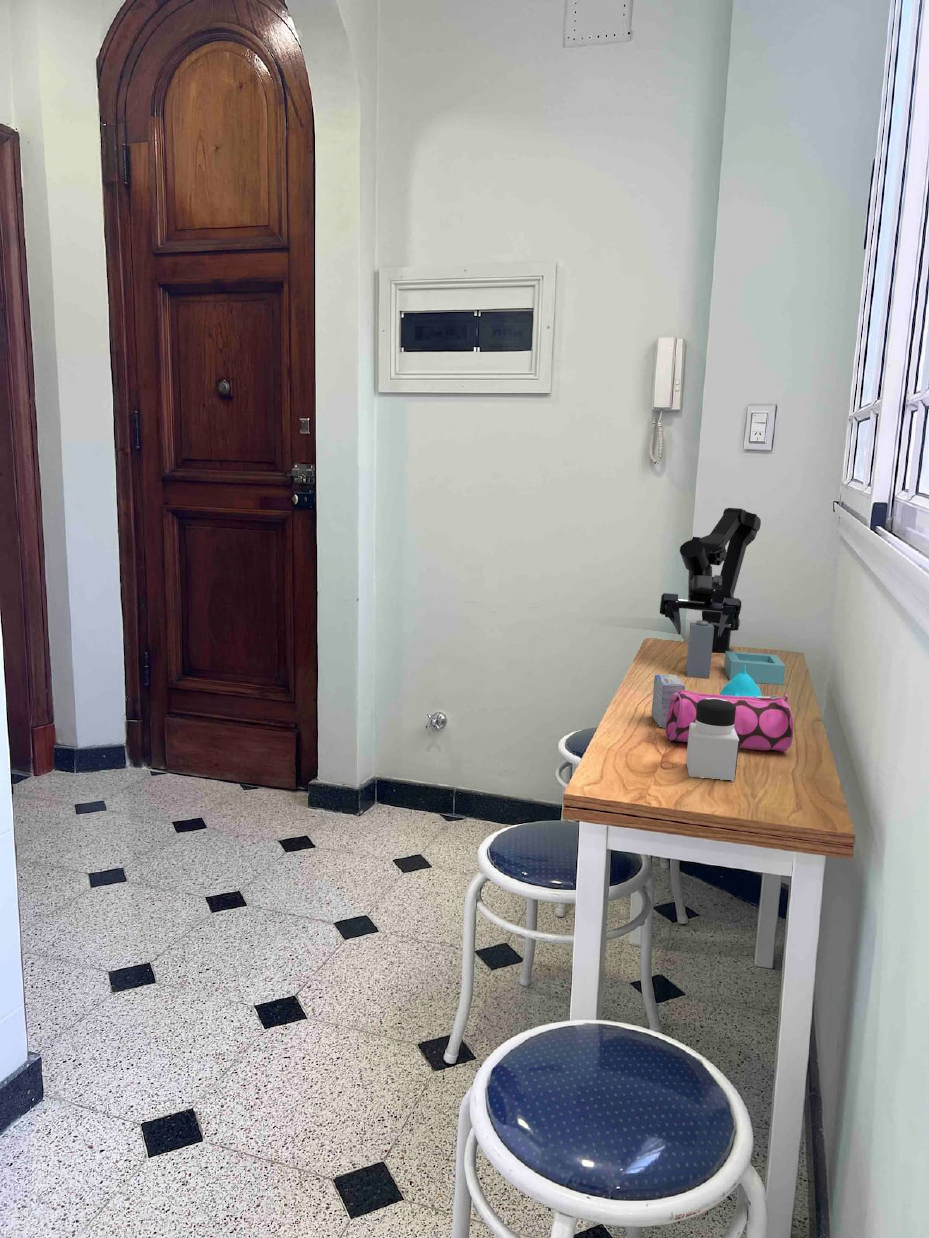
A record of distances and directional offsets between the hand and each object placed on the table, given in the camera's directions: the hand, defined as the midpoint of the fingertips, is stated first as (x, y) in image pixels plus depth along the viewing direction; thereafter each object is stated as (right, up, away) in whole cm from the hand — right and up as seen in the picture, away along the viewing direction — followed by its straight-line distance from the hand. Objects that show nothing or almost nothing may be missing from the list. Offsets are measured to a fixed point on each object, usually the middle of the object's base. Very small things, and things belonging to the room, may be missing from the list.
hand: (699, 634), depth 209 cm
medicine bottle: (-16, -21, -66) cm, 71 cm away
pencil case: (-9, -19, -51) cm, 55 cm away
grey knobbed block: (-1, -10, 0) cm, 10 cm away
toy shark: (-1, -16, -34) cm, 37 cm away
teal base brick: (+13, -10, +1) cm, 16 cm away
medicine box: (-17, -16, -40) cm, 46 cm away
